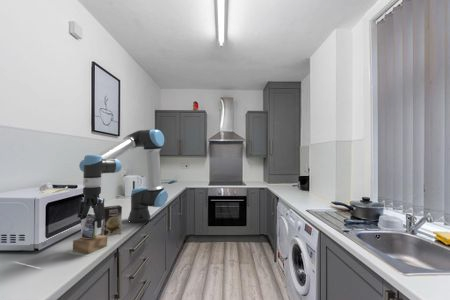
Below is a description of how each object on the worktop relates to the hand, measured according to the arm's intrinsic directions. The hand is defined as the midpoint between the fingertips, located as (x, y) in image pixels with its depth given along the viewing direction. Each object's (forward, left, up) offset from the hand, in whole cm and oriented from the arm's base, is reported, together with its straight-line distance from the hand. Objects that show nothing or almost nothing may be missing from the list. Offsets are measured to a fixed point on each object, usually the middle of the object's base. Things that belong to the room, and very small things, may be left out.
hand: (90, 233), depth 105 cm
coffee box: (-20, -8, -8) cm, 23 cm away
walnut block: (0, 0, -7) cm, 7 cm away
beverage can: (0, 0, -2) cm, 2 cm away
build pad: (0, 0, -8) cm, 8 cm away
